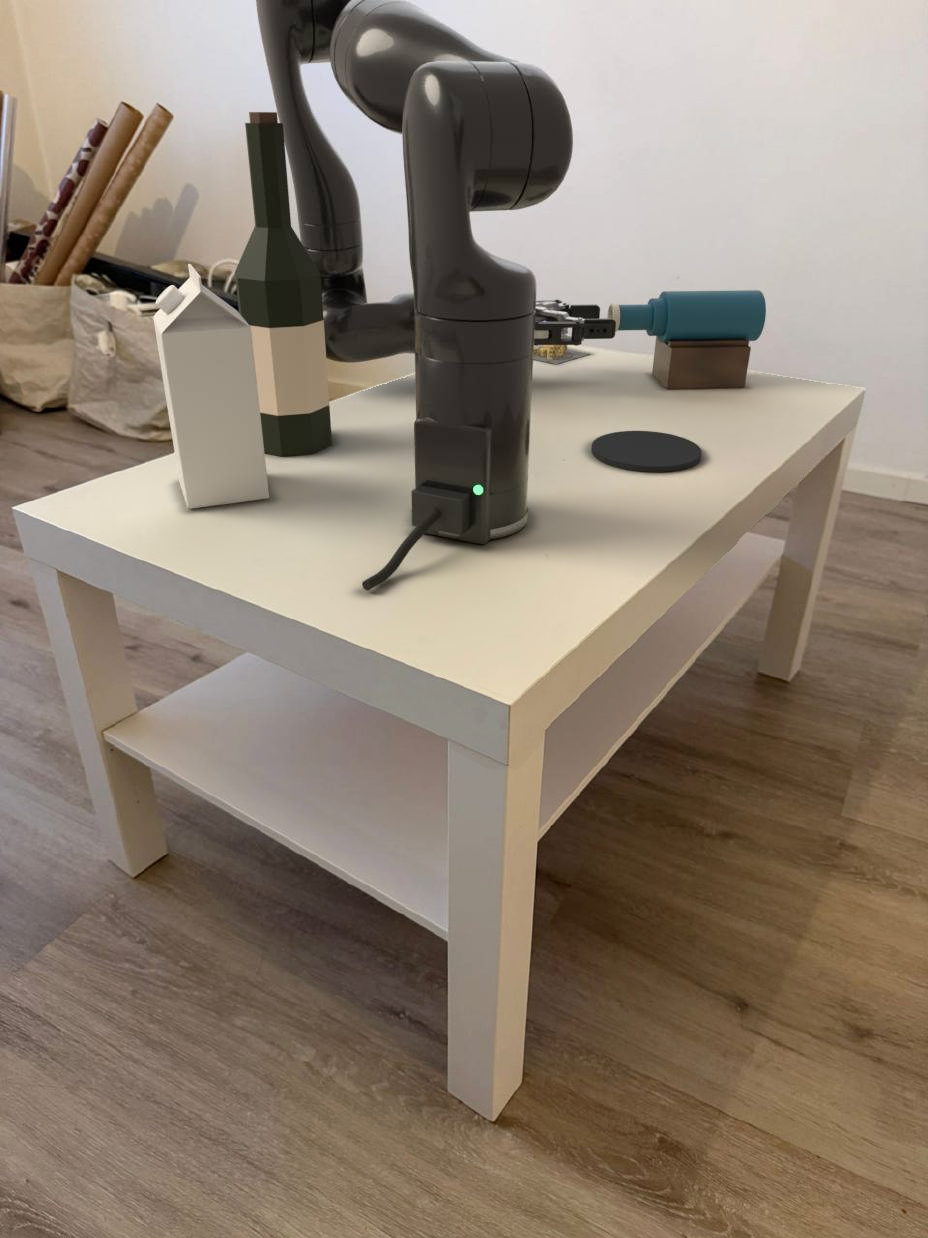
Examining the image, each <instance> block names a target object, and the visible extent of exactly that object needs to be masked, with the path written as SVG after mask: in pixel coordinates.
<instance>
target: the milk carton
mask: <svg viewBox="0 0 928 1238" xmlns="http://www.w3.org/2000/svg"><path fill="white" fill-rule="evenodd" d="M187 268H188V274H189V277H188V278H187V280H186V281H184V283H183V284H182V285H181V286H180V287H179V288H177V286H176V285H174V284H172V285H169V286H168V287H166V288H165V289H164V290H163V291H162V292H161V293H160V294H159V296H158V297H157V298H156V300H155V305H156V307H158V308H159V309H158V310H157V312H155V314H154V315H153V325H154V331H155V338H156V339H155V340H156V344H157V350H158V356H159V363H160V369H161V377H162V382H163V387H164V388H163V389H164V394H165V401H166V408H167V414H168V419H169V425H170V433H171V438H172V444H173V445H172V446H173V451H174V457H175V463H176V470H177V476H178V481H179V486H180V489H181V493H182V495H183V499H184V502H185V506H186V508H187V509H198V508H205V507H214V506H221V505H222V506H223V505H228V504H229V505H230V504H238V503H243V502H244V503H245V502H252V501H260V500H266V499H269V498H270V491H269V481H268V475H267V464H266V455H265V454H266V453H264V444H263V435H262V426H261V416H260V407H259V398H258V388H257V379H256V370H255V361H254V351H253V342H252V333H251V327H250V326H249V324H248V323H247V322H246V321H245V320H244V318H243V317H242V316H241V315H240V314H239V310H237V309H236V308H234V307H233V306H232V305H230V304H229V303H228V302H227V301H225V300H224V299H222V298H221V297H219V296H218V295H217V294H215V293H214V292H212V290H210V289H208V288H207V287H206V286H204V285H203V283H202V277H201V275H200V274H199V273H198V272H197V270H196V269H195V267H193V265H192V264H191V263H187Z"/></svg>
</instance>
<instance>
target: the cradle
mask: <svg viewBox="0 0 928 1238" xmlns="http://www.w3.org/2000/svg"><path fill="white" fill-rule="evenodd" d="M749 344H750V341H749V340H747V339H729V340H669V341H668V342H662V343H661V342H659V341H658V339H657V336H655V342H654V352H653V361H652V372H651V375H652V376H653V377H654V378H655V379H656V380H657V381H658V382H659V383H660V384H661V385H662V386H664V388H666V389H667V390H687V389H688V390H689V389H693V390H694V389H736V388H737V389H741V388H742V389H743V388H745V387H746V380H747V376H748V370H749V369H748V368H749V362H750V356H751V351H752V347H751V346H750V345H749Z"/></svg>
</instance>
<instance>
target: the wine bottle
mask: <svg viewBox="0 0 928 1238" xmlns="http://www.w3.org/2000/svg"><path fill="white" fill-rule="evenodd" d="M248 116H249V117H248V118H249V122H244V126H245V135H246V136H245V137H246V145H247V146H246V147H247V158H248V167H249V178H250V187H251V196H252V207H253V217H254V227H253V229H252V232H251V234H250V236H249V239H248V241H247V243H246V245H245V248H244V249H243V252H242V255H241V257H240V259H239V261H238V264H237V266H236V268H235V270H234V277H235V278H234V279H235V289H236V297H237V306H238V312H239V314H240V315H241V316H242V317H243V318H244V320H245V321H246V322H247V323H248V324H249V326H250V327H251V333H252V342H253V351H254V361H255V370H256V379H257V388H258V398H259V407H260V416H261V426H262V435H263V444H264V453H265V454H267V455H273V456H277V457H294V456H302V455H303V456H304V455H314V454H317V453H319V452H320V451H322V450H324V449H327V448H329V447H330V446H332V445H333V438H332V437H333V436H332V424H331V422H332V421H331V407H330V392H329V378H328V363H327V358H326V347H325V332H324V317H323V303H322V288H321V274H320V273H319V271H318V269H317V268H316V266H315V265H314V263H313V261H312V260H311V258H310V256H309V255H308V253H307V251H306V250H305V248H304V246H303V245H302V243H301V239H300V237H299V236H298V235H297V233H296V231H295V229H293V226H292V219H291V208H290V194H289V193H290V192H289V183H288V182H289V181H288V173H287V172H288V169H287V158H286V147H285V143H284V131H283V123H280V122H279V118H278V113H277V111H248Z"/></svg>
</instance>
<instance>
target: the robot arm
mask: <svg viewBox="0 0 928 1238" xmlns="http://www.w3.org/2000/svg"><path fill="white" fill-rule="evenodd" d="M255 4H256V14H257V21H258V27H259V33H260V38H261V44H262V48H263V53H264V57H265V63H266V67H267V71H268V76H269V81H270V84H271V90H272V94H273V99H274V104H275V108H276V112H277V118H278V123H283V131H284V144H285V152H286V154H287V160H288V164H289V168H290V173H291V178H292V179H291V180H292V184H293V189H294V190H293V191H294V196H295V203H296V211H297V222H298V231H299V240H300V242H301V243H302V245H303V246H304V248H305V250H306V251H307V253H308V255H309V256H310V258H311V260H312V261H313V263H314V265H315V266H316V268H317V269H318V271H319V273H320V274H321V288H322V303H323V317H324V332H325V347H326V360H330V361H332V362H337V363H346V364H352V363H355V364H356V363H364V362H368V361H376V360H379V359H385V358H390V357H394V356H398V355H402V354H414V377H415V378H414V379H415V381H414V383H415V420H414V422H413V434H414V435H413V437H414V439H413V441H414V442H413V443H414V445H413V446H414V487H415V488H414V489H412V490H411V492H410V493H411V494H410V496H411V526H412V527H414V529H413V530H412V531H411V532H410V533H409V534H408V535H407V537H406V538H405V539H404V540H403V541H402V543H401V544H400V545H399V547H398V548H397V550H396V551H395V553H394V554H393V556H392V557H391V558H390V560H389V561H388V562H387V563H386V564H385V566H383V568H381V570H380V571H378V572H376V573H375V574H374V575H371V576H370V577H369V578H366V579H365V580H363V581H362V583H361V585H362V588H363V589H364V590H365V591H368V592H369V591H371V590H372V589H373V588H375V587H377V586H378V585H380V584H382V583H383V582H385V581H386V580H388V579H389V578H390V577H391V576H392V575H393V574H394V573H395V572H396V571H397V570H398V568H399V567H400V565H401V564H402V563H403V561H404V559H406V557H407V556H408V554H409V552H410V551H411V549H412V548H413V547H414V546H415V545H416V544H417V542H419V540H420V539H421V538H422V537H423V536H424V535H425V534H427V535H433V536H437V537H442V538H443V537H444V538H448V539H452V540H457V541H463V542H468V543H472V544H478V545H485V544H487V542H489V541H490V540H494V539H498V538H503V537H506V536H507V537H508V536H509V535H512V534H515V533H517V532H518V531H520V530H522V529H523V528H524V527H525V526H526V524H527V523H528V519H529V518H528V517H529V508H528V492H529V491H528V490H529V466H530V465H529V464H530V460H529V459H530V440H531V417H532V397H533V396H532V395H533V374H534V373H533V372H534V371H533V370H534V359H533V351H534V347H539V346H542V345H567V346H581V345H582V343H583V342H584V341H585V340H605V339H606V340H611V339H614V338H615V337H616V332H615V330H616V321H615V320H614V319H611V318H608V319H607V318H601V317H600V315H601V308H600V306H599V305H598V304H570V303H569V302H566V301H564V302H563V301H562V300H560V299H554V300H551V299H550V300H537V278H536V275H535V274H534V272H533V271H532V270H531V269H530V268H528V267H527V266H524V265H522V264H521V263H517V262H515V261H512V260H509V259H505V258H502V257H500V256H498V255H495V254H493V253H491V252H489V251H488V250H486V249H485V248H484V247H482V246H481V245H480V244H479V243H478V242H477V241H476V239H475V238H474V237H475V236H474V235H473V229H472V220H471V213H473V212H497V211H500V212H501V211H502V212H503V211H518V210H523V209H525V208H526V209H527V208H530V207H533V206H536V205H539V204H541V203H542V202H544V201H546V200H547V199H549V198H550V197H551V196H552V195H553V194H554V193H555V192H556V191H557V190H558V188H559V187H560V186H561V184H562V183H563V182H564V180H565V177H566V175H567V173H568V172H569V170H570V169H569V168H570V165H571V163H572V162H571V161H572V157H573V150H574V132H573V131H574V130H573V124H572V118H571V114H570V111H569V107H568V105H567V102H566V100H565V97H564V94H563V93H562V91H561V89H560V87H559V86H558V85H557V82H555V80H554V79H553V78H552V76H551V75H549V74H548V72H547V71H545V70H544V69H543V68H541V67H539V65H538V66H537V65H535V64H532V63H530V62H529V63H528V62H525V61H520V60H517V59H513V58H511V57H508V56H504V55H501V54H498V53H495V52H492V51H490V50H487V49H486V48H484V47H482V46H480V45H479V44H476V43H475V42H473V41H472V40H470V39H469V38H468V37H466V36H464V35H463V34H462V33H460V32H458V30H456V29H454V28H452V27H451V26H449V25H447V24H446V23H445V22H443V21H441V20H440V19H437V18H436V17H434V16H433V15H431V14H430V13H429V12H428V11H427V10H425V9H424V8H422V7H420V6H419V5H417V4H415V3H414V2H412V1H411V0H255ZM320 63H330V66H331V70H332V74H333V77H334V79H335V81H336V84H337V85H338V88H339V89H340V90H341V92H342V93H343V94H344V96H345V97H346V98H347V100H349V102H350V103H351V104H352V105H354V107H355V108H357V109H358V110H359V111H360V112H361V113H362V115H364V116H365V117H367V118H368V119H369V120H370V121H372V123H375V124H377V125H378V126H380V127H381V128H383V129H385V130H388V131H390V132H393V133H396V134H398V135H401V138H402V141H401V143H402V160H403V173H404V186H405V199H406V212H407V213H406V215H407V226H408V227H407V230H408V231H407V232H408V253H409V254H408V255H409V265H410V273H411V279H412V289H413V292H407V293H400V294H396V295H395V296H394V297H393V298H391V300H388V301H379V302H368V295H367V288H366V281H365V275H364V267H363V263H364V242H363V240H364V239H363V227H362V215H361V214H362V213H361V204H360V198H359V194H358V189H357V186H356V183H355V181H354V178H353V176H352V174H351V172H350V170H349V169H348V167H347V165H346V164H345V162H344V160H343V159H342V157H341V156H340V154H339V153H338V151H337V149H336V148H335V146H334V145H333V143H332V142H331V141H330V139H329V137H328V136H327V134H326V133H325V132H324V131H325V130H323V128H322V126H321V124H320V122H319V121H318V119H317V117H316V115H315V113H314V112H313V109H312V107H311V104H310V102H309V99H308V96H307V93H306V88H305V84H304V81H303V75H302V71H301V70H302V69H301V68H302V67H301V66H302V65H307V64H320ZM569 329H571V333H569Z"/></svg>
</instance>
